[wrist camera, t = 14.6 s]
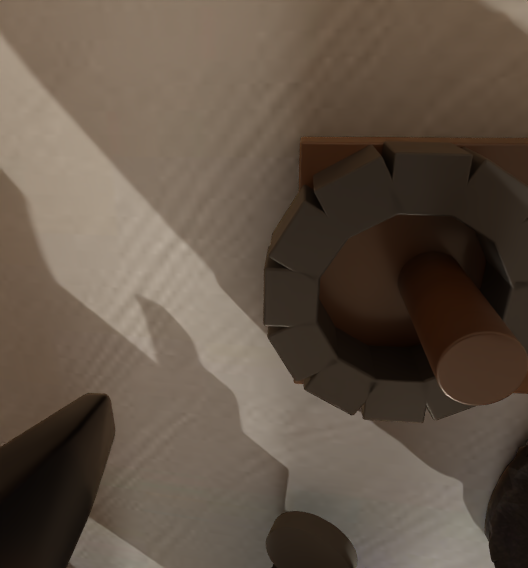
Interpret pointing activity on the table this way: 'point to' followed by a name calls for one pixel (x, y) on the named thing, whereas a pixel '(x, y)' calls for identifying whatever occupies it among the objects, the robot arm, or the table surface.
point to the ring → (361, 216)
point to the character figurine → (308, 543)
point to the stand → (424, 281)
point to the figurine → (510, 515)
